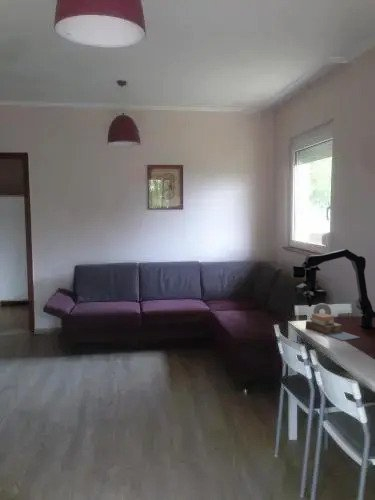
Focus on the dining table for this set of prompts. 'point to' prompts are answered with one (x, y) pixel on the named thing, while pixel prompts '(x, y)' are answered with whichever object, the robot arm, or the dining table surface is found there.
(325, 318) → the tile upper
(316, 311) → the donut
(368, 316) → the robot arm
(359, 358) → the dining table surface
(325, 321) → the tile lower
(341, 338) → the mat
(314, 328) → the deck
